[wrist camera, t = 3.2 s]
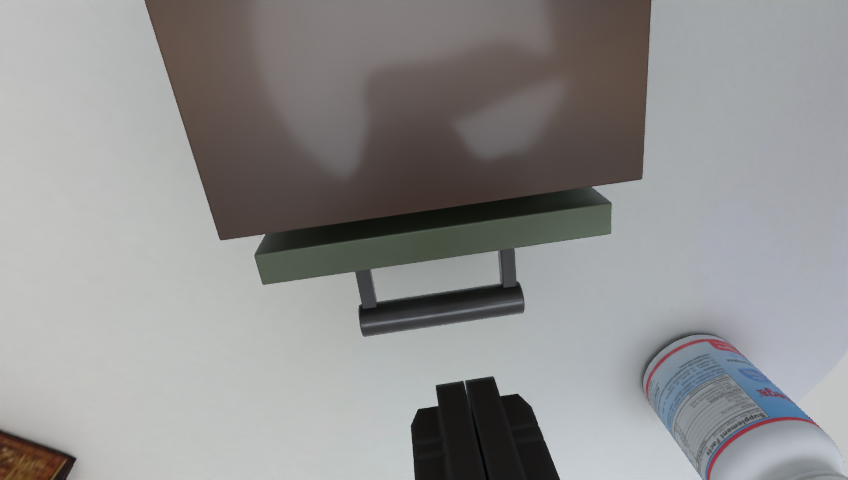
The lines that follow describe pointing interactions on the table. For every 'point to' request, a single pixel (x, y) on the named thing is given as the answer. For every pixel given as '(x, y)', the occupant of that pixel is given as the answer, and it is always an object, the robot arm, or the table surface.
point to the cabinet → (401, 102)
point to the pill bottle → (735, 416)
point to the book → (31, 461)
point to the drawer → (434, 253)
